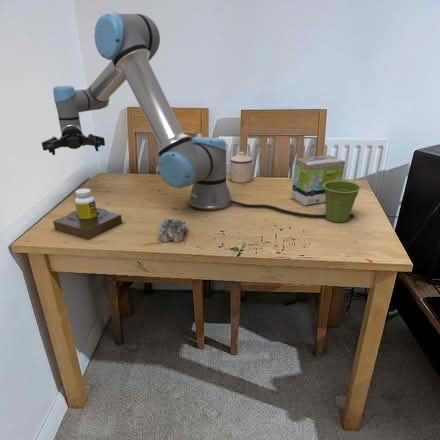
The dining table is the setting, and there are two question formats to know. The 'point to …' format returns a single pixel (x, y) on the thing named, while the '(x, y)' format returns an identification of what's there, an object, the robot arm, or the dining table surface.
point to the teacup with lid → (240, 168)
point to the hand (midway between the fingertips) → (75, 148)
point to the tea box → (315, 177)
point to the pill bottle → (85, 204)
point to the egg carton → (172, 230)
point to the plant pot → (340, 199)
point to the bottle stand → (87, 223)
